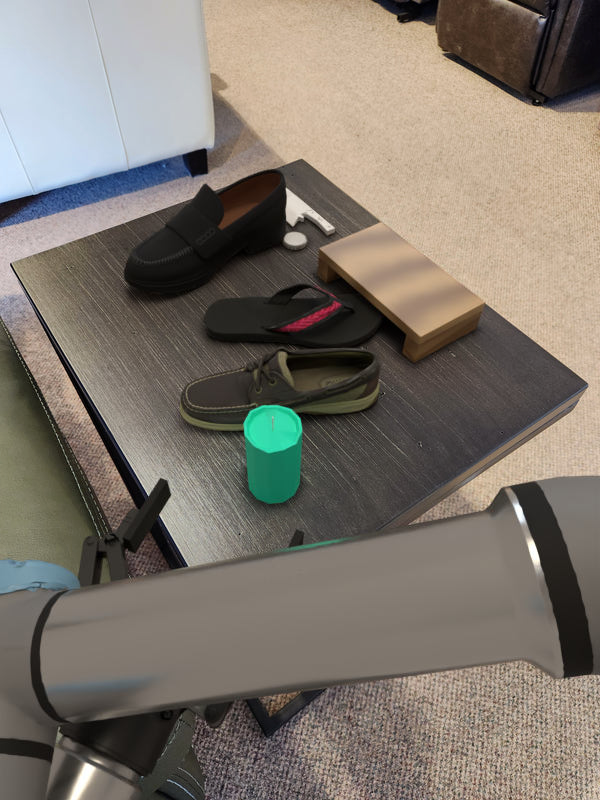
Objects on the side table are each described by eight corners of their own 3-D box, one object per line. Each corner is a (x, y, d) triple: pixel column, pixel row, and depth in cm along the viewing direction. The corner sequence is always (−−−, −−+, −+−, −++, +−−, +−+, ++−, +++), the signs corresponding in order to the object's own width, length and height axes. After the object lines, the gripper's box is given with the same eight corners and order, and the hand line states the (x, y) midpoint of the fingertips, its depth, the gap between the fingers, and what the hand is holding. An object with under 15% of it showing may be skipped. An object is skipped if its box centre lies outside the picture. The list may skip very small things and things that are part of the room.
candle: (236, 484, 67) (229, 421, 58) (269, 450, 70) (268, 384, 61) (277, 513, 65) (277, 453, 56) (310, 476, 68) (315, 413, 59)
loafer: (113, 275, 89) (94, 203, 80) (267, 218, 101) (266, 148, 91) (142, 311, 84) (126, 238, 75) (301, 246, 96) (304, 176, 86)
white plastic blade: (310, 242, 96) (310, 237, 95) (260, 198, 103) (260, 193, 102) (335, 232, 98) (335, 226, 97) (284, 189, 105) (284, 183, 104)
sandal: (388, 349, 81) (394, 319, 77) (203, 352, 80) (199, 322, 76) (379, 303, 87) (384, 272, 83) (207, 305, 86) (203, 274, 82)
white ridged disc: (277, 239, 96) (277, 235, 96) (299, 231, 97) (299, 228, 97) (290, 252, 94) (290, 249, 93) (311, 244, 95) (312, 241, 95)
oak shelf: (476, 328, 85) (485, 302, 81) (413, 363, 80) (420, 337, 76) (377, 248, 95) (381, 221, 92) (317, 275, 91) (318, 248, 87)
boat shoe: (177, 388, 76) (168, 344, 70) (363, 359, 80) (371, 314, 74) (185, 446, 70) (176, 404, 64) (385, 411, 75) (395, 368, 68)
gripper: (-23, 699, 48) (122, 486, 60) (262, 842, 42) (355, 577, 55) (-65, 674, 42) (105, 444, 54) (260, 836, 37) (364, 541, 49)
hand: (231, 510), depth 55 cm, fingers open, 13 cm apart
